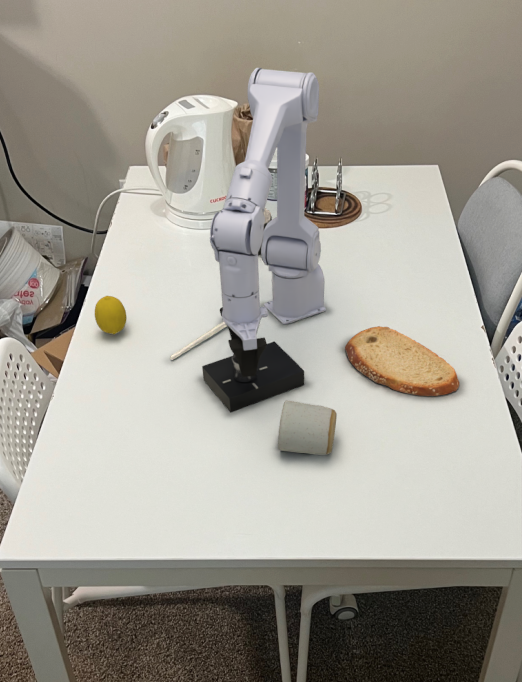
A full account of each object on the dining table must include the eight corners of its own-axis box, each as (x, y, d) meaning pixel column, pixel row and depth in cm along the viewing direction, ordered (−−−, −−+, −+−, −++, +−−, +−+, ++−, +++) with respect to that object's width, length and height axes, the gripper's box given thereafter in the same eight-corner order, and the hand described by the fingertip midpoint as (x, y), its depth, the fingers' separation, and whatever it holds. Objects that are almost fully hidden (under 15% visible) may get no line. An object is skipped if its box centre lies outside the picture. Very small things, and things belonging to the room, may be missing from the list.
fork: (164, 357, 132) (163, 349, 130) (242, 310, 143) (241, 301, 142) (177, 364, 130) (176, 356, 129) (254, 316, 141) (254, 307, 140)
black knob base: (274, 354, 132) (274, 340, 130) (304, 385, 126) (304, 370, 124) (203, 380, 127) (201, 365, 125) (230, 413, 120) (229, 398, 118)
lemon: (123, 344, 135) (115, 306, 130) (94, 340, 136) (85, 302, 130) (133, 327, 139) (127, 289, 134) (105, 324, 140) (98, 286, 134)
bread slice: (463, 395, 123) (467, 377, 121) (355, 400, 122) (356, 382, 120) (439, 333, 137) (442, 316, 134) (342, 338, 136) (343, 321, 133)
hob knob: (231, 369, 124) (230, 350, 121) (255, 366, 125) (254, 347, 122) (235, 384, 121) (233, 364, 118) (259, 380, 122) (258, 361, 119)
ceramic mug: (331, 466, 111) (333, 426, 106) (277, 460, 112) (276, 421, 107) (338, 420, 119) (340, 382, 114) (287, 416, 120) (287, 377, 115)
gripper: (276, 310, 107) (277, 384, 116) (257, 261, 118) (260, 333, 127) (227, 316, 106) (233, 391, 115) (213, 266, 117) (219, 338, 126)
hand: (244, 361), depth 121 cm, fingers open, 7 cm apart
